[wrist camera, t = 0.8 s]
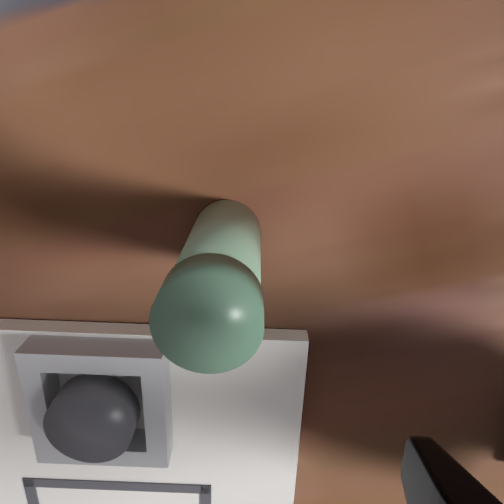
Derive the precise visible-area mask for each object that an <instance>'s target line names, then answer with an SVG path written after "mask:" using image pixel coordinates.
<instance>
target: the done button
mask: <svg viewBox="0 0 504 504" xmlns="http://www.w3.org/2000/svg"><path fill="white" fill-rule="evenodd" d="M139 417H140V404H139V401H138V398H137V396H136V395H135V393H134V392H133V391H132V389H131V388H130V387H129V386H127V385H126V384H125V383H124V382H122V381H120V380H119V379H117V378H115V377H112V376H109V375H90V374H81V375H77V376H75V377H73V378H71V379H70V380H68V381H67V382H66V383H65V384H64V385H63V386H62V388H61V389H60V391H59V392H58V394H57V395H56V397H55V398H54V400H53V402H52V403H51V405H50V406H49V408H48V409H47V411H46V413H45V415H44V418H43V429H44V432H45V435H46V437H47V439H48V440H49V442H50V443H51V444H52V446H53V447H55V448H56V449H57V450H58V451H59V452H61V453H62V454H64V455H65V456H67V457H69V458H72V459H74V460H77V461H81V462H86V463H103V462H107V461H111V460H113V459H115V458H117V457H119V456H120V455H122V454H123V453H124V452H125V451H126V450H127V448H128V447H129V445H130V442H131V439H132V437H133V434H134V431H135V428H136V425H137V423H138V420H139Z"/></svg>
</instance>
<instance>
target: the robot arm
mask: <svg viewBox="0 0 504 504" xmlns="http://www.w3.org/2000/svg"><path fill="white" fill-rule="evenodd" d="M401 479H402V484H403V488H404V493H405V497H406V502H407V504H502V503H501V502H500V501H499V500H498V499H497V498H496V497H495V496H494V495H493V494H492V493H490V492H489V491H488V490H487V489H486V488H485V487H484V486H483V485H482V484H481V483H480V482H479V481H477V480H476V479H475V478H474V477H473V476H472V475H471V474H470V473H469V472H468V471H467V470H466V469H464V468H463V467H462V466H461V465H460V464H459V463H458V462H457V461H456V460H455V459H454V458H453V457H451V456H450V455H449V454H448V453H447V452H446V451H445V450H444V449H443V448H442V447H441V446H440V445H438V444H437V443H436V442H435V441H434V440H433V439H431V438H430V437H421V436H411V437H408V439H407V441H406V444H405V449H404V455H403V460H402V465H401Z"/></svg>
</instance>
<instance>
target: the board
mask: <svg viewBox="0 0 504 504" xmlns="http://www.w3.org/2000/svg"><path fill="white" fill-rule="evenodd" d="M308 347H309V339H308V333H307V330H291V329H264V335H263V339H262V342H261V344H260V346H259V348H258V350H257V351H256V353H255V354H254V355H253V356H252V357H251V358H250V359H249V360H248V361H247V362H246V363H244V364H243V365H241V366H239V367H237V368H235V369H233V370H230V371H227V372H223V373H217V374H203V373H196V372H192V371H189V370H186V369H183V368H181V367H179V366H177V365H176V364H174V363H172V362H171V361H170V360H168V359H167V358H166V357H165V356H164V355H163V354H162V353H161V352H160V350H159V349H158V348H157V346H156V344H155V343H154V341H153V338H152V336H151V332H150V327H149V324H131V323H104V322H77V321H51V320H24V319H0V504H293V502H294V492H295V481H296V471H297V461H298V450H299V440H300V430H301V419H302V409H303V399H304V388H305V378H306V367H307V357H308ZM81 374H90V375H109V376H112V377H115V378H117V379H119V380H120V381H122V382H124V383H125V384H126V385H127V386H129V387H130V388H131V389H132V391H133V392H134V393H135V395H136V396H137V398H138V401H139V404H140V417H139V420H138V423H137V425H136V428H135V431H134V434H133V437H132V439H131V442H130V445H129V447H128V448H127V450H126V451H125V452H124V453H123V454H122V455H120V456H119V457H117V458H115V459H113V460H111V461H107V462H103V463H86V462H81V461H77V460H74V459H72V458H69V457H67V456H65V455H64V454H62V453H61V452H59V451H58V450H57V449H56V448H55V447H53V446H52V444H51V443H50V442H49V440H48V439H47V437H46V435H45V432H44V429H43V418H44V415H45V413H46V411H47V409H48V408H49V406H50V405H51V403H52V402H53V400H54V398H55V397H56V395H57V394H58V392H59V391H60V389H61V388H62V386H63V385H64V384H65V383H66V382H67V381H68V380H70V379H71V378H73V377H75V376H77V375H81Z"/></svg>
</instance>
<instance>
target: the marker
mask: <svg viewBox="0 0 504 504" xmlns="http://www.w3.org/2000/svg"><path fill="white" fill-rule="evenodd" d="M149 327H150V332H151V336H152V338H153V341H154V343H155V344H156V346H157V348H158V349H159V350H160V352H161V353H162V354H163V355H164V356H165V357H166V358H167V359H168V360H170V361H171V362H172V363H174V364H176V365H177V366H179V367H181V368H183V369H186V370H189V371H192V372H196V373H203V374H217V373H223V372H227V371H230V370H233V369H235V368H237V367H239V366H241V365H243V364H244V363H246V362H247V361H248V360H249V359H250V358H251V357H252V356H253V355H254V354H255V353H256V351H257V350H258V348H259V346H260V344H261V342H262V339H263V335H264V295H263V290H262V287H261V232H260V224H259V221H258V219H257V217H256V215H255V214H254V213H253V211H252V210H251V209H250V208H248V207H247V206H246V205H244V204H242V203H240V202H237V201H233V200H220V201H216V202H213V203H211V204H209V205H208V206H206V207H205V208H204V209H203V210H202V211H201V212H200V214H199V215H198V217H197V219H196V222H195V224H194V226H193V228H192V230H191V232H190V234H189V237H188V239H187V241H186V243H185V245H184V247H183V249H182V252H181V254H180V256H179V258H178V260H177V262H176V264H175V266H174V267H173V268H172V269H171V271H170V272H169V273H168V275H167V276H166V278H165V280H164V282H163V284H162V286H161V288H160V291H159V293H158V295H157V297H156V299H155V301H154V303H153V305H152V308H151V311H150V317H149Z"/></svg>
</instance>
